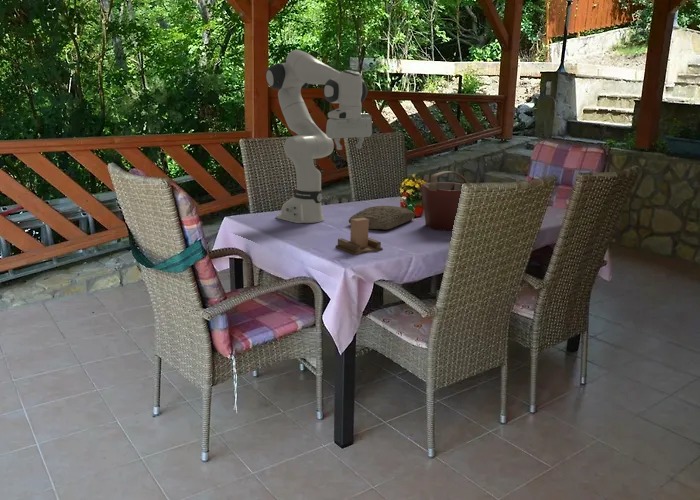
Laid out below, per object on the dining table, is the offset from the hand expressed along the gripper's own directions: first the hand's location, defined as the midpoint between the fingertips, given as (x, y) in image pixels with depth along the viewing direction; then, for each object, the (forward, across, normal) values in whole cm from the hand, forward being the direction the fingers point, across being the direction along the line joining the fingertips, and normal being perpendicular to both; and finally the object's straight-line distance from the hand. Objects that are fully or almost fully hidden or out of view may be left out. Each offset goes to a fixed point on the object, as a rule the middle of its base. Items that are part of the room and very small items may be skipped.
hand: (349, 149), depth 250 cm
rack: (+37, +4, +14) cm, 40 cm away
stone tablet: (+38, -32, -16) cm, 52 cm away
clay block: (+36, +4, +14) cm, 39 cm away
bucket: (+37, -53, +3) cm, 65 cm away
